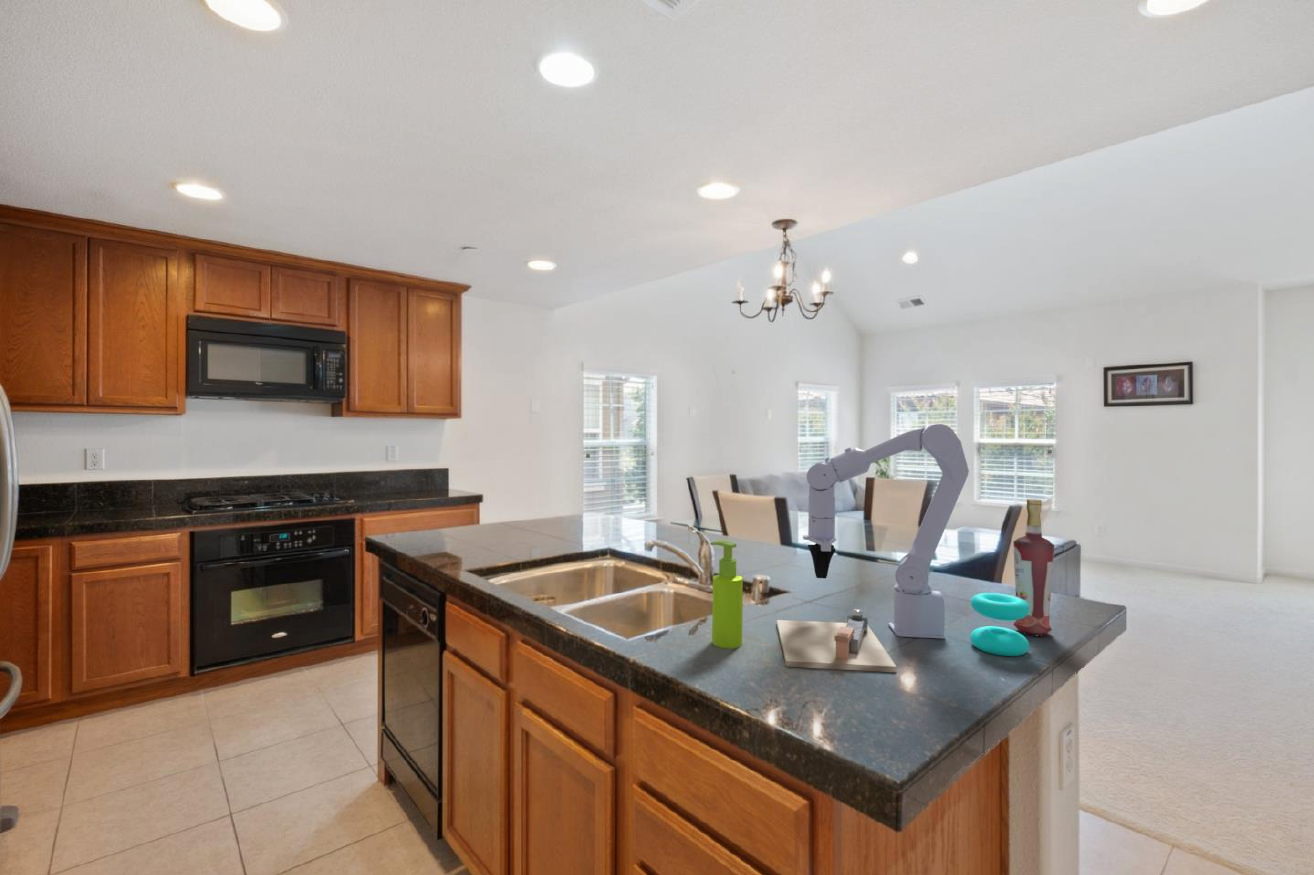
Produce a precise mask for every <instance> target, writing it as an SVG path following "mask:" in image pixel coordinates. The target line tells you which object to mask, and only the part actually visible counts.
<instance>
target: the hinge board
mask: <svg viewBox="0 0 1314 875" xmlns="http://www.w3.org/2000/svg"><path fill="white" fill-rule="evenodd" d="M846 625H847V622H834V621H833V622H831V621H829V622H828V621H814V620H813V621H809V620H806V621H805V620H790V619H789V620H788V619H786V620H785V619H784V620H783V619H776V626H777V628H776V629H777V631H778V636H779V641H780V645H781V650H782V653H783V658H784V663H785V666H786V667H787V668H789V667H790V668H808V669H826V670H827V669H828V670H844V671H845V670H847V671H865V672H867V671H868V672H881V673H882V672H884V673H886V672H888V673H897V665H896V664H895V662H894V661H893V659H892V658H891V657H890V655H889V653H888V651H886V649H885V648H884V646H883V645H882V643H881V642H880V640H879V639H878V638H877V636H876V635H875V633H874V631H872V628H870V626H869V625H868V631H867V632H865V633H864V635H863V639H862V642H861V645H860V648H859V651H858V653H852V652H849V657H848V659H847V660H846V659H841V658H836V641H834V635H835V634H836V632H837V631H838V629H839V628H840V627H841V626H842V627H846Z"/></svg>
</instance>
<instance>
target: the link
mask: <svg viewBox="0 0 1314 875" xmlns="http://www.w3.org/2000/svg"><path fill="white" fill-rule="evenodd" d="M863 611H864V610H862V609H858V608H853V609H852V614H850V615H847V619H846V620H847V622H846V623H847V625H846V627H849V628H854V635H853V636H852V638H851V640H850V642H849V652H852V653H858V651H859V648H860V645H861V642H862V639H863V635H864V633H865V632H867V631H868V626H869V622H868V621H869V620H868V619H869V618H868V617H867V616H865V615H863Z"/></svg>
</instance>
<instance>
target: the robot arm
mask: <svg viewBox="0 0 1314 875" xmlns="http://www.w3.org/2000/svg"><path fill="white" fill-rule="evenodd" d="M959 438H960V437H958V436H957V434H956V432H955V431H954V430H953V428H952V427H950V426H948V425H946V424H944V423H943V424H942V423H934V424H931V425H929V426H927V428H926V427H923V428H922V427H921V428H917V429H913V430H910V431H906V432H903V433H901V434H900V435H899V434H898V435H897V436H894V437H893V438H891V439H888V440H886V441H884V442H881V443H880V444H877V445H875V446H873V447H871V448H868V449H865V450H864V449H861V448H858V447H854V448H853V449H852V447H848V448H845V449H844V452H843V453H840V454H838V455H836V456H832V457H829V456H828V457H826V458H824V462H822V463H821V462H817V463H815V464H813V465H812V466H811V467H809V469H808V470H807V473H806V481H807V483H808V486H809V490H808V493H809V495H808V528H807V530H808V531H807V532H808V534H807V535H802V539H803V540H805V541H810V542H812V543H813V544H807V548H808V550H809V553H810V555H811V558H812V563H813V564H812V565H813V569H814V575H815V578H816V579H827V578H828V575H829V574H828V572H829V568H830V564H831V560H832V558H833V556H834V554H835V553H836V548H835V546H834V543H835V542H836V540H837V539H836V538H837V537H836V536H835V535H836V497H835V485H836V483H843V482H846V481H849V480H850V479H853V478H856V477H859V476H861V475H863V474H866V473H867V472H869V469H870V466H871V465H872V464H873V463H876V462H879V461H880V460H884V459H887V458H889V457H892V456H894V455H895V456H896V455H897V454H899V453H902V452H905V451H914V452H922V451H923V448H924V450H925V451H926V452H927V453H928V454H930V456H931V457H932V458H934V460H935V462H936V463H937V465H938V467H939V469H940V471H941V472H942V474H941V477H940V479H939V481H938V484H937V486H936V487H935V488H936V489H935V491H934V493H933V496H932V497H931V500H930V503H929V505H928V507H927V509H926V512H925V514H924V516H923V519H922V521H921V524H920V526H919V529H918V530H917V533H916V535H915V538H914V540H913V542H912V544H911V547H910V550H909V551H908V553H906V555H904V556H903V557H902V558H901V559H900V561H899V562H898V566H897V569H896V571H895V573H894V577H895V581H896V583H895V585H894V593H893V594H894V600H893V602H894V604H893V608H894V609H893V611H894V612H893V613H894V614H893V622H888V624H887V625H888V626H889V627H890V629H891V630H892V631H893V632H894V633H895V635H896V637H901V638H927V639H946V635H945V623H946V622H945V621H946V620H945V619H946V618H945V612H946V611H945V610H946V607H945V599H944V596H943V594H942V592H941V591H939V590H933V589H932V587H931V586H930V585H929V576H930V574H931V568H930V567H931V563H932V561H933V557H934V555H935V552H936V550H937V549H938V545H939V544H940V541H941V539H942V537H943V534H944V531H945V529H946V528H947V524H948V522H949V520H950V518H951V515H952V513H953V511H954V508H955V507H956V503H957V501H958V499H959V497H960V495H961V493H962V490H963V488H964V486H965V483H966V481H967V478H968V476H969V471H970V470H969V466H968V462H967V459H966V455H965V452H964V448H963V445H962V441H961V440H960V439H959Z"/></svg>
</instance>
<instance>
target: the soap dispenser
mask: <svg viewBox="0 0 1314 875" xmlns="http://www.w3.org/2000/svg"><path fill="white" fill-rule="evenodd" d="M709 544H710V546H721V547H723V557H721V558H719V562H718V565H719V566H718V567H719V568H718V569H719V570H718V574H715V575H713V576H712V630H711V631H712V632H711V634H712V635H711V637H712V642H711V643H712V645H713V646H715V647H717V648H721V649H736V648H739V647H741V646H742V645H743V600H744V598H743V594H744V593H743V587H744V586H743V585H744V584H743V583H744V582H743V580H744V579H743V577H742V576H741V575H738V574H737V559H735V558H734V557H733V548H737V543H734V542H731V541H727V540H719V541H714V542H709Z"/></svg>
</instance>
